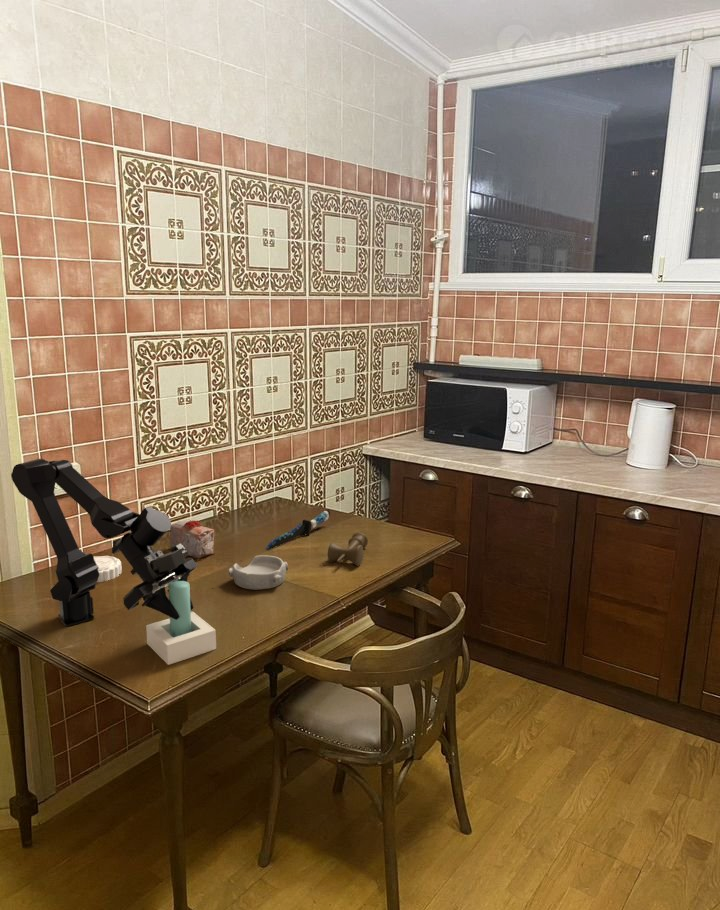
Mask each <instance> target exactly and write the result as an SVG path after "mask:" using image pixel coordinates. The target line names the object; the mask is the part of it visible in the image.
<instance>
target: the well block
mask: <svg viewBox="0 0 720 910" xmlns="http://www.w3.org/2000/svg"><path fill="white" fill-rule="evenodd" d="M216 632H217V631H216V629H215V628H214V627H212V626H211V625H210V624H209V623H208V622H207V621H205V619H203V618H202V617H200V616H199V615H198V614H197V613H195V612H194V611H191V632H190V633H187V634H183V635H180V636H177V637H174V638H173V637H172V636H171V635H170V617H169V618H167V619H163V620H159V621H155V622H152V623H148V624H147V625H146V644H147V645H148V646H149V648H151V649H152V650H153V652H155V653H156V654H157V655H158V656H159V658H160V659H162V661H164V662H165V664H166V665H168V666H169V665H172V664H176V663H178V662H181V661H184V660H187V659H191V658H193V657H196V656H200V655H203V654H205V653H209V652H213V651H214V650H216V649H217V633H216Z"/></svg>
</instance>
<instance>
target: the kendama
mask: <svg viewBox="0 0 720 910" xmlns="http://www.w3.org/2000/svg"><path fill="white" fill-rule="evenodd" d="M368 541H369V540H368V537H367V534H364V533H363V532H355V533H354V534H353V535H352V537H350V539H349V540H348V543H347V545H348V547H341V546H340V545H338V544H336V543H335V542H331V543H330V544H329V545H328V549H327V560H328V562H330V563H333V562H337V563H338V562H341V561H342V560H345V561H349V562H351V563H353V564H354V565H355V566H356V567H360V566H361V565H362V563H363V560H364V548H366V547H367V546H368V543H369V542H368ZM360 564H361V565H360ZM359 565H360V566H359Z"/></svg>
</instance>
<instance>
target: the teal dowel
mask: <svg viewBox="0 0 720 910" xmlns="http://www.w3.org/2000/svg"><path fill="white" fill-rule="evenodd" d="M190 587H191V586H190V582H188V581H187V582H186V581H176V582H172V583H170V584H169V585H168V584H167V588H168V589H167V590H169V592H168V599H169V601H170V602H171V604H172V605H173V606H174V608H175V609H176V611H177V612H178V614H179V616H180V617H179V618H178V619H177V620H175V619H173V618H171V617H169V618H170V635H171V636H172V637H173V638H174V637H177V636H180V635H183V634H187V633H190V632H191V612H192V610H190V598H191V589H190Z"/></svg>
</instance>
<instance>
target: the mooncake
mask: <svg viewBox="0 0 720 910" xmlns="http://www.w3.org/2000/svg"><path fill="white" fill-rule="evenodd" d="M93 557H94V560H95V563H96V564H97V566H98V567H99V569H98V572H99V577H98V581H97V582H96V583H103V582H109V581H110V580H115V578H118V577H119V576H120V575H121V574H122V571H123V570H122V569H123V568H122V561H121V560H120V559H119V558H117V557H115V556H111V555H110V556H109V555H102V556H95V555H93ZM119 574H120V575H119ZM108 580H109V581H108Z"/></svg>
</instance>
